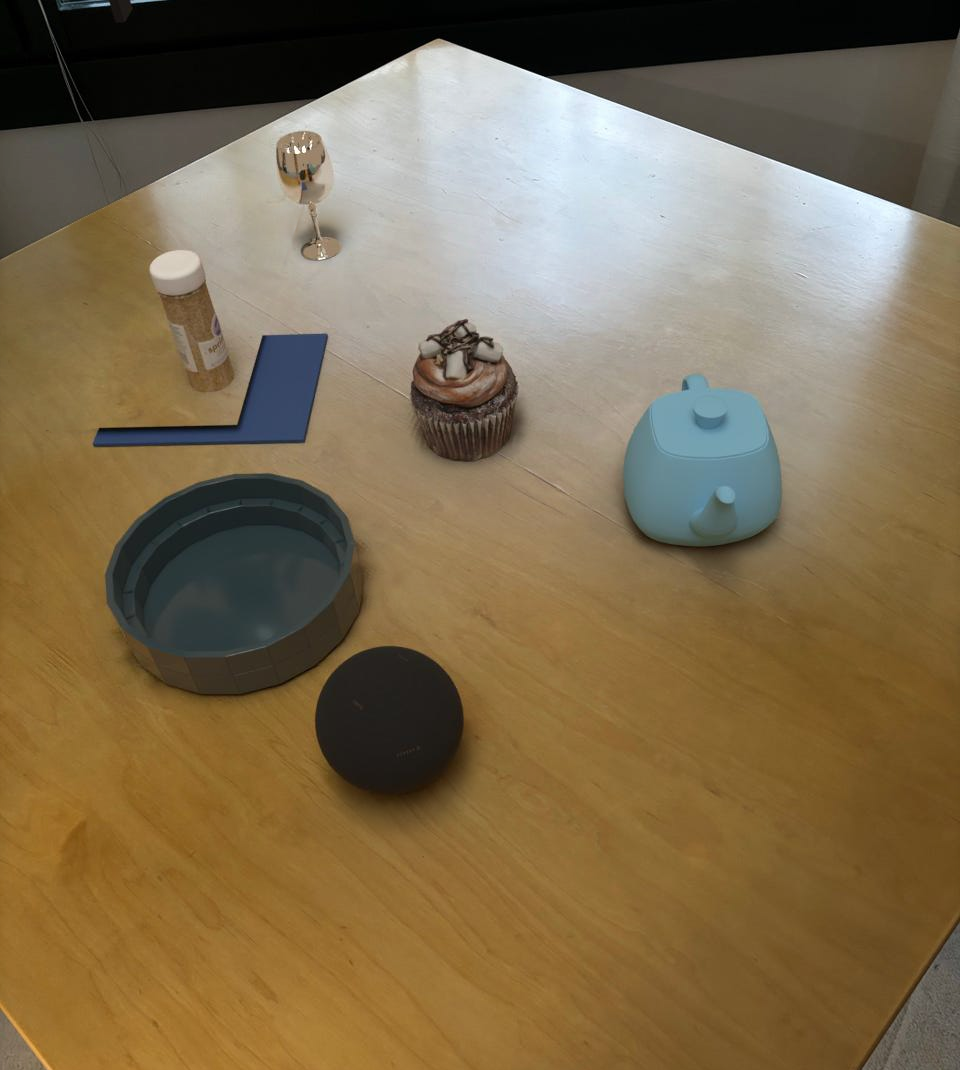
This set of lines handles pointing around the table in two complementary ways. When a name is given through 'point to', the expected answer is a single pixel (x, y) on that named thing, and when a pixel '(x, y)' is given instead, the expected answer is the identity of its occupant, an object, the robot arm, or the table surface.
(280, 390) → the blue l-shaped plate
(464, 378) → the cupcake
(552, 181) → the table surface
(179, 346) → the sprinkles bottle
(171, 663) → the bowl
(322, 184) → the wineglass
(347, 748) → the speaker
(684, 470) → the teapot
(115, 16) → the robot arm
